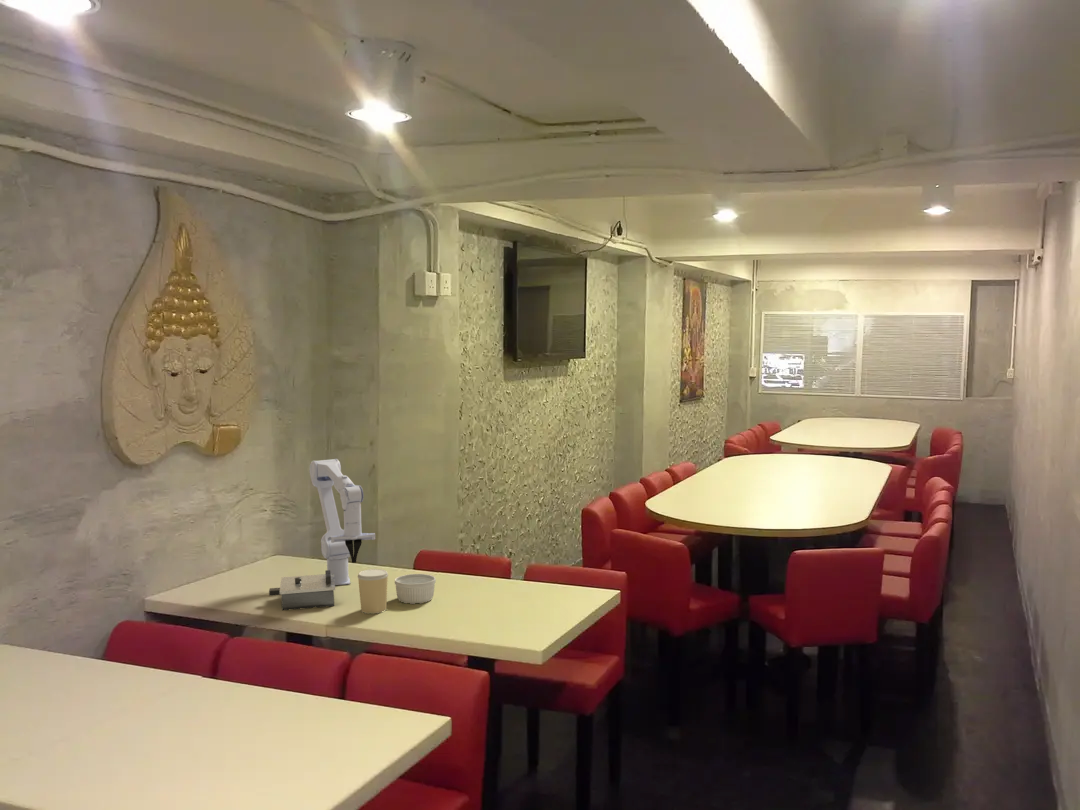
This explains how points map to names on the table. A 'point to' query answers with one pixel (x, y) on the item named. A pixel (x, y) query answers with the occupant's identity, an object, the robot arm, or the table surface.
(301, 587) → the lid
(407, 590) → the ramekin
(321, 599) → the gray rectangular box
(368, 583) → the coffee cup
